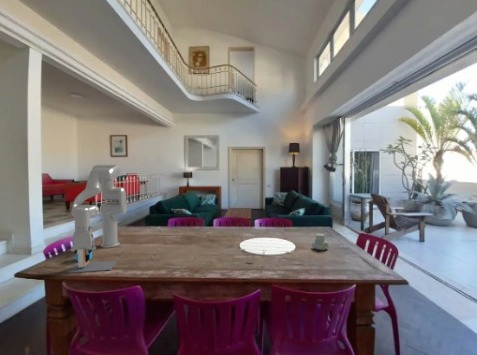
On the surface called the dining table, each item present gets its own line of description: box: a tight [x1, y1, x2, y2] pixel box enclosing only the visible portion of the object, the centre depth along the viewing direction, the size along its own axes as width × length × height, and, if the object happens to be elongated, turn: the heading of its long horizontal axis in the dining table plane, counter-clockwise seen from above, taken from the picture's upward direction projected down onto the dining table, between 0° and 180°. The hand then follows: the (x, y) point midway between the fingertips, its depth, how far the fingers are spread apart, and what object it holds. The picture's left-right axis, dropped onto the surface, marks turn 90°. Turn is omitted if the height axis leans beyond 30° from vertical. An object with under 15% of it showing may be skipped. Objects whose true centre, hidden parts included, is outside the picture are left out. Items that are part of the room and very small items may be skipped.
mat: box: [66, 260, 118, 274], centre depth 155 cm, size 14×22×1 cm, turn 100°
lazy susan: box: [239, 237, 296, 257], centre depth 192 cm, size 40×39×3 cm
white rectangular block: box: [77, 249, 90, 267], centre depth 154 cm, size 7×3×10 cm, turn 10°
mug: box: [74, 248, 93, 262], centre depth 167 cm, size 12×8×8 cm
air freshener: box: [311, 233, 329, 251], centre depth 185 cm, size 11×8×10 cm
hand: (83, 261), depth 154 cm, fingers closed on white rectangular block, 3 cm apart
